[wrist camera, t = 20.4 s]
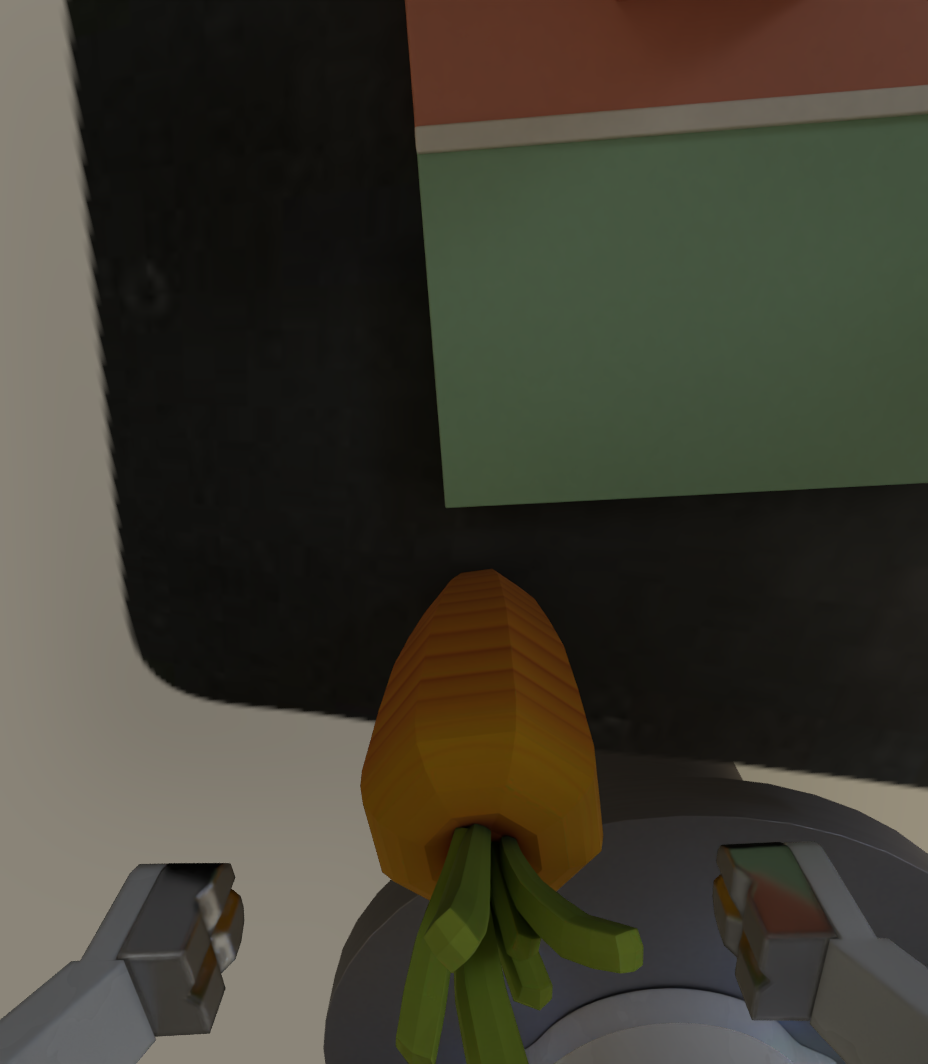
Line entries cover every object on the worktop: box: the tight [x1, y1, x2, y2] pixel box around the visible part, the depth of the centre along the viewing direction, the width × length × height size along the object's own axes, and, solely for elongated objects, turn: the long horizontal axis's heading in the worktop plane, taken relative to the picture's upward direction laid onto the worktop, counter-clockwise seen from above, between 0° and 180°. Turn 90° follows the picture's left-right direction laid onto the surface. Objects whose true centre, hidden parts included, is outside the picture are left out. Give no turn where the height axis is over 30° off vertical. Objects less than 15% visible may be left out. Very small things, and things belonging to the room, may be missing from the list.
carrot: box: [360, 569, 643, 1064], centre depth 15 cm, size 5×5×15 cm
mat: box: [405, 0, 928, 508], centre depth 16 cm, size 20×15×1 cm
